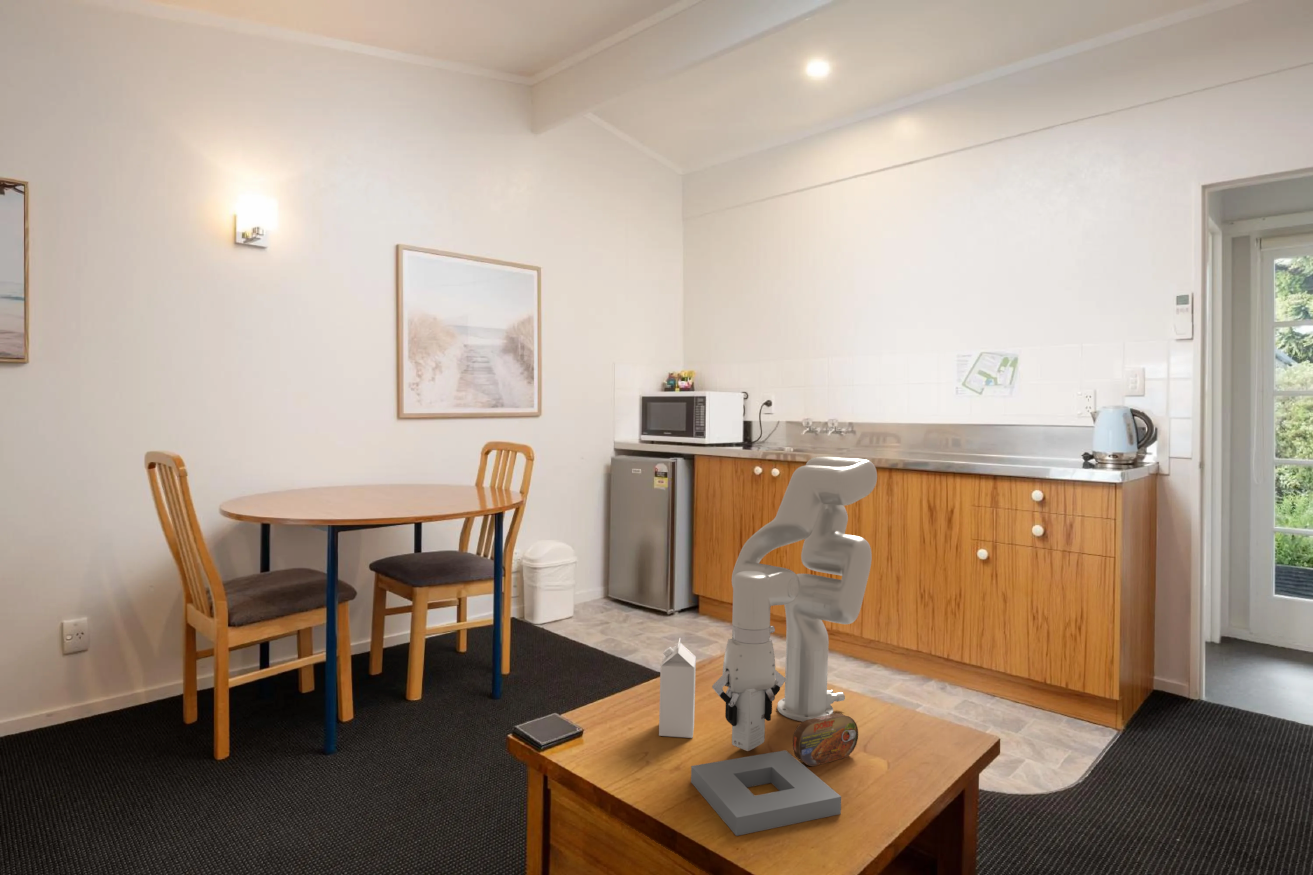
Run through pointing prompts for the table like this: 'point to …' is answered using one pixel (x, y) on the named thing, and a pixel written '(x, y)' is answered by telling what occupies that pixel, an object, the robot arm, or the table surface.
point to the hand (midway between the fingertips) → (748, 719)
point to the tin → (825, 739)
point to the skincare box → (749, 720)
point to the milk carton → (677, 692)
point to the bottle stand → (749, 813)
